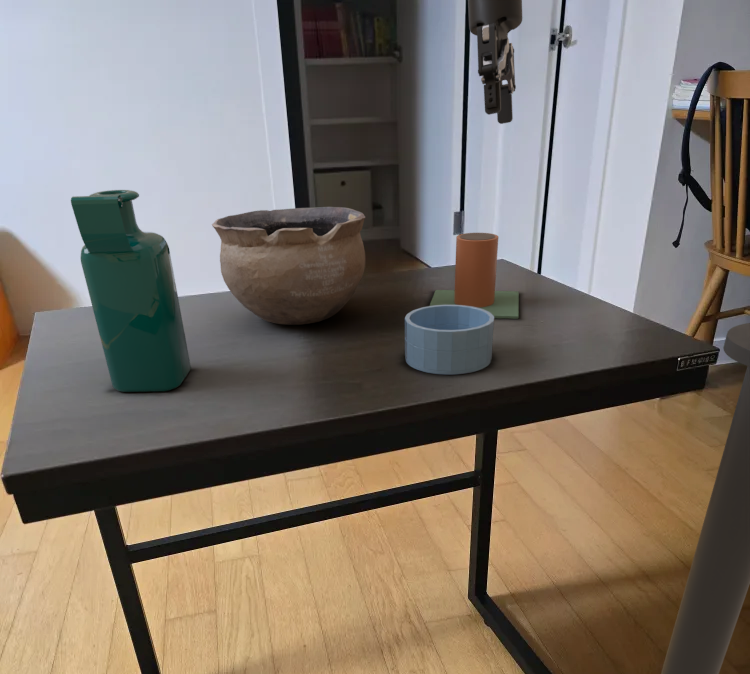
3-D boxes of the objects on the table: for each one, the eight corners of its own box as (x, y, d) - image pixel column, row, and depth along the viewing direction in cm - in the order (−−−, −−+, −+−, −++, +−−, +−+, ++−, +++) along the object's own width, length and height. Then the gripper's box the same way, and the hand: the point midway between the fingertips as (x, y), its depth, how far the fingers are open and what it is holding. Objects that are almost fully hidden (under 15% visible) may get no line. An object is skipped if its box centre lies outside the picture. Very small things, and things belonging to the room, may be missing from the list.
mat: (518, 293, 113) (518, 291, 112) (518, 318, 101) (518, 316, 101) (435, 292, 115) (435, 289, 115) (426, 316, 103) (426, 313, 103)
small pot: (494, 296, 110) (499, 232, 105) (493, 308, 105) (497, 240, 99) (455, 296, 111) (458, 232, 106) (452, 307, 106) (454, 240, 100)
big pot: (492, 345, 91) (495, 305, 88) (489, 376, 82) (492, 332, 79) (411, 343, 93) (411, 303, 90) (399, 372, 84) (399, 329, 81)
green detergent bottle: (131, 368, 88) (88, 185, 76) (195, 367, 88) (161, 183, 76) (104, 398, 80) (51, 198, 68) (174, 397, 79) (134, 195, 68)
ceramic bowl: (239, 348, 93) (223, 234, 85) (217, 307, 111) (202, 210, 103) (388, 327, 99) (386, 219, 91) (344, 292, 117) (339, 198, 109)
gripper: (511, -37, 87) (515, 104, 92) (529, -2, 99) (532, 121, 104) (455, -21, 90) (462, 115, 95) (480, 11, 102) (485, 129, 107)
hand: (499, 118), depth 100 cm, fingers open, 8 cm apart
